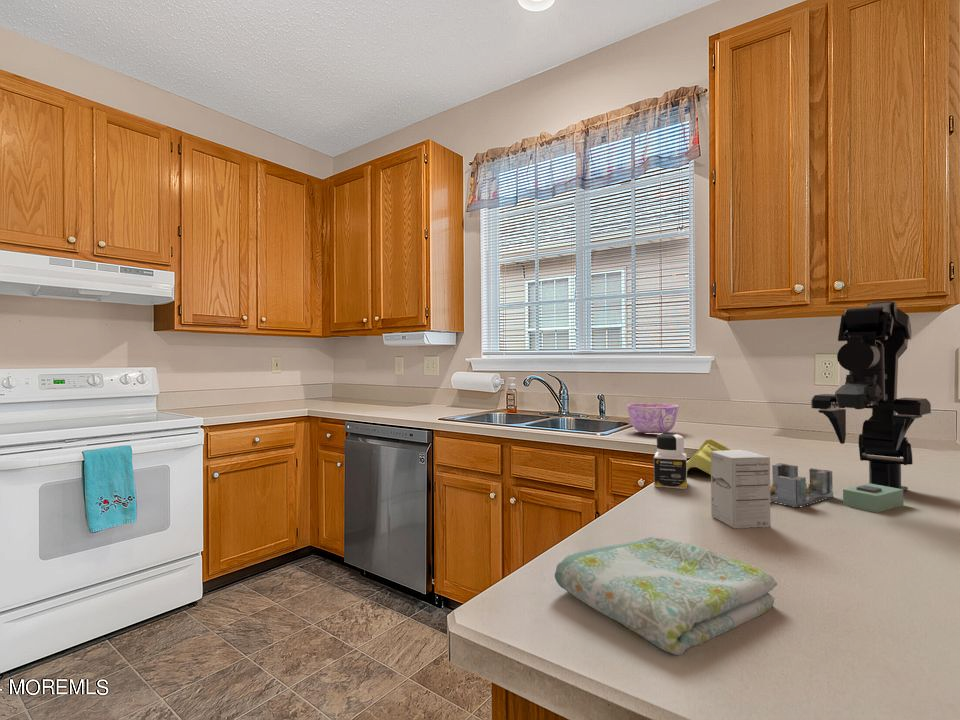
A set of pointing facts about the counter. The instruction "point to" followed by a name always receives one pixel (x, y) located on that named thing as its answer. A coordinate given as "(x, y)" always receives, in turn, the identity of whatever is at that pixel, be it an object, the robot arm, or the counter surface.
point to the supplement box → (740, 488)
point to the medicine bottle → (670, 462)
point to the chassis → (799, 485)
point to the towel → (668, 589)
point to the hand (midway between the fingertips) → (868, 446)
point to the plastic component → (705, 455)
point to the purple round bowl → (653, 417)
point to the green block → (873, 497)
